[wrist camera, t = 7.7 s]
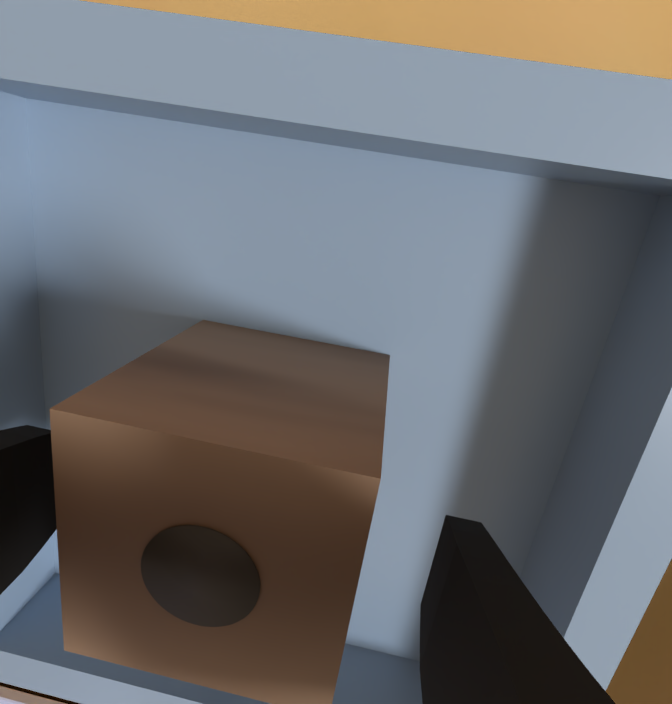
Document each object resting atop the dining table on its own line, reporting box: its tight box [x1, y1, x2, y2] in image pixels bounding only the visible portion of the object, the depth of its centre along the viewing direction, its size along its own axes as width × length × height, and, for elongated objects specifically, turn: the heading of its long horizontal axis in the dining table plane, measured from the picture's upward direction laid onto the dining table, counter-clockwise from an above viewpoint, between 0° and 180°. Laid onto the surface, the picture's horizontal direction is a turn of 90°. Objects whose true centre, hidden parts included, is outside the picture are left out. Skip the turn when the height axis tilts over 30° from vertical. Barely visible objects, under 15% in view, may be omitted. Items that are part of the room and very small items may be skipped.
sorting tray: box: [0, 0, 672, 704], centre depth 10 cm, size 16×16×3 cm
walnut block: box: [49, 320, 390, 704], centre depth 9 cm, size 4×4×5 cm
